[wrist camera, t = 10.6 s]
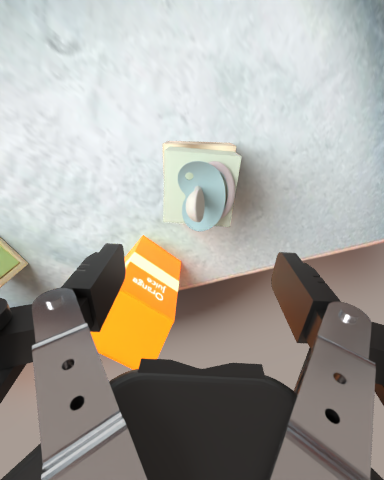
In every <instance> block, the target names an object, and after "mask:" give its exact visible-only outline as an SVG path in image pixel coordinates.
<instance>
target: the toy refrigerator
mask: <svg viewBox="0 0 384 480" xmlns="http://www.w3.org/2000/svg"><path fill="white" fill-rule="evenodd" d="M27 265H28V262H27V261H25V260H24V259H23V258H22V257H21V256H20V255H19V254H18V253H17V252H16V251H15V250H13V249H12V248H11V247H10V246H9V245H8V244H7V243H6V242H5V241H4V240H3V239H1V238H0V288H1V287H2V286H3V285H4V284H5V283H7V282H8V281H9V280H10V279H11V278H13V277H14V276H15V275H16V274H17V273H18V272H20V271H21V270H22V269H23V268H24V267H25V266H27Z"/></svg>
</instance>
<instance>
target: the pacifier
mask: <svg viewBox="0 0 384 480" xmlns="http://www.w3.org/2000/svg"><path fill="white" fill-rule="evenodd" d="M188 172H190V173H192V174H193V178H192V179H190V180H188V179H186V177H185V174H186V173H188ZM220 173H221V174H222V175H223V177H224V179H225V181H226V185H227V198H226V201H225V185H224V181H223V178H222V176H221V174H220ZM178 184H179V187H180V189H181V190H182V192H183V193H184V194H185V200H184V202H183V205H182V216H183V219H184V222H185V223H186V224H187V226H188V227H190V228H191V229H193V230H195V231H205V230H208V229H210V228H212V227H213V226H214V225H215V224H216V223H217V222H218V221H219V219H221V218H223V217H224V216H226V215H227V213H228V212H229V211H230V209H231V207H232V205H233V202H234V198H235V184H234V180H233V177H232V174H231V172H230V171H229V169H228V168H227V167H226V166H225V165H224V164H222V163H221V162H217V161H212V162H209V163H207V162H203V161H193V162H189V163H187V164H185V165H184V166H183V167H182V168H181V169H180V171H179V173H178Z"/></svg>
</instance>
